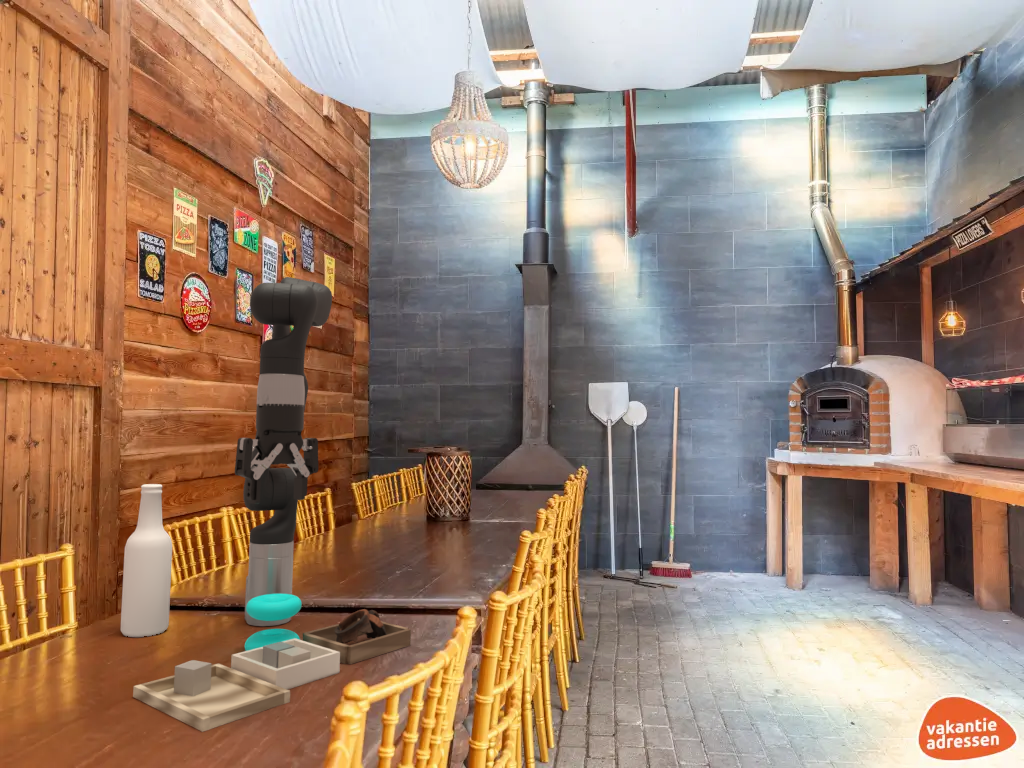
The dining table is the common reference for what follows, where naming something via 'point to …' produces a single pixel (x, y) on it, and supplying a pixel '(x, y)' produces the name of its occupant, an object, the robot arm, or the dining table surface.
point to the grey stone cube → (192, 678)
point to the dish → (292, 675)
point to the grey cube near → (292, 656)
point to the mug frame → (363, 650)
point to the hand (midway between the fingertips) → (277, 501)
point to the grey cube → (274, 653)
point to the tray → (214, 698)
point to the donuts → (272, 618)
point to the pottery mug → (360, 626)
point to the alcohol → (147, 570)
